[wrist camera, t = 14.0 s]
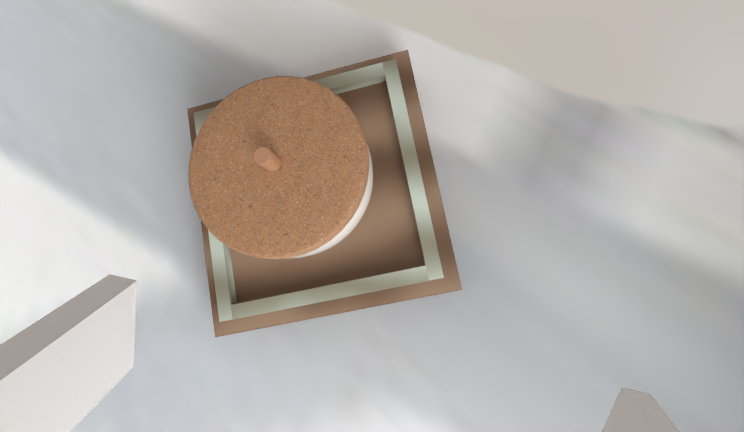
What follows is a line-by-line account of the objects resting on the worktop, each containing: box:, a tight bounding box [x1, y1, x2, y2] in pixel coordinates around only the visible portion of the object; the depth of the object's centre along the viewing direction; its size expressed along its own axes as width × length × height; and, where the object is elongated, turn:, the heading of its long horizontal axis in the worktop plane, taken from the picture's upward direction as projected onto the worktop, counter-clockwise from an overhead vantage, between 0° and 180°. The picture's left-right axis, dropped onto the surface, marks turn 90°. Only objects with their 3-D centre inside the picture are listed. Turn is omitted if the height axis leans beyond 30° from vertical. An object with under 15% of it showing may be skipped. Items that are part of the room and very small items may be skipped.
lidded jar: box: [189, 76, 373, 259], centre depth 28 cm, size 11×11×9 cm
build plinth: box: [188, 50, 462, 337], centre depth 34 cm, size 18×18×5 cm
